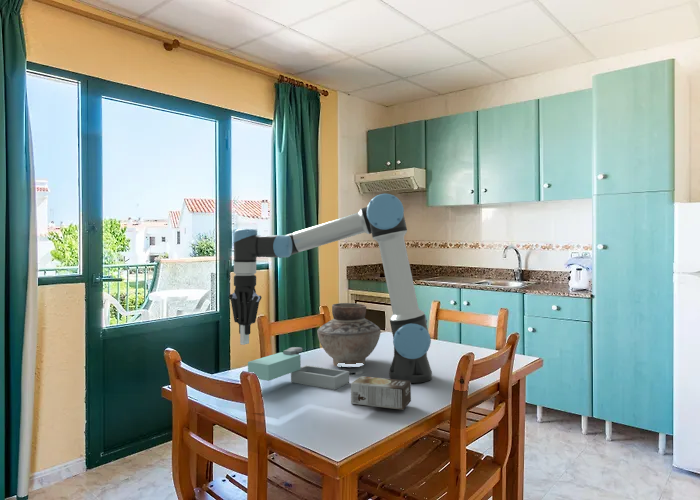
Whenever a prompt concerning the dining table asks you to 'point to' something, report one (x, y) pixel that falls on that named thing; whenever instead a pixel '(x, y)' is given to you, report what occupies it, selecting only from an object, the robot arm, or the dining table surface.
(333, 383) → the grey box
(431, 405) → the dining table surface
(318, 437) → the dining table surface
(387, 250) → the robot arm
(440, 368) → the dining table surface
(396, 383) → the coffee box
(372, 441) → the dining table surface
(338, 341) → the ceramic pot
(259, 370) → the lid
